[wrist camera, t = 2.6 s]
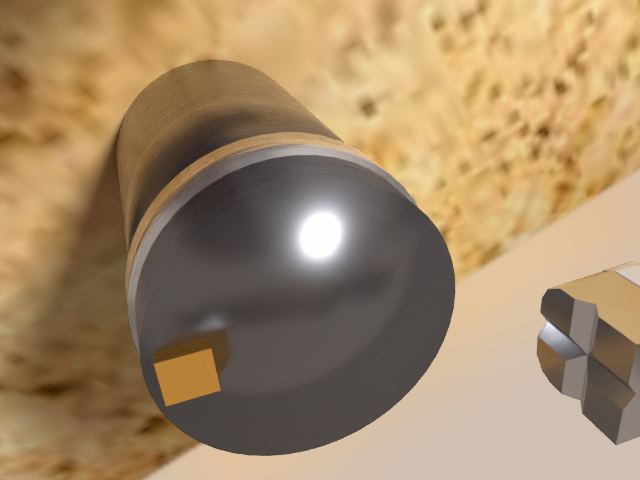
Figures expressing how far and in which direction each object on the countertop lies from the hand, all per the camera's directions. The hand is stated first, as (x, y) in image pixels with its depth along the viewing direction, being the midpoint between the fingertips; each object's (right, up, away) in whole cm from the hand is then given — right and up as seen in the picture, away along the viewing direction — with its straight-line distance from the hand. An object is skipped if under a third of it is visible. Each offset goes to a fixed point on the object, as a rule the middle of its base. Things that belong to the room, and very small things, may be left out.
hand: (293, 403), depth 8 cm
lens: (-2, +4, +8) cm, 9 cm away
